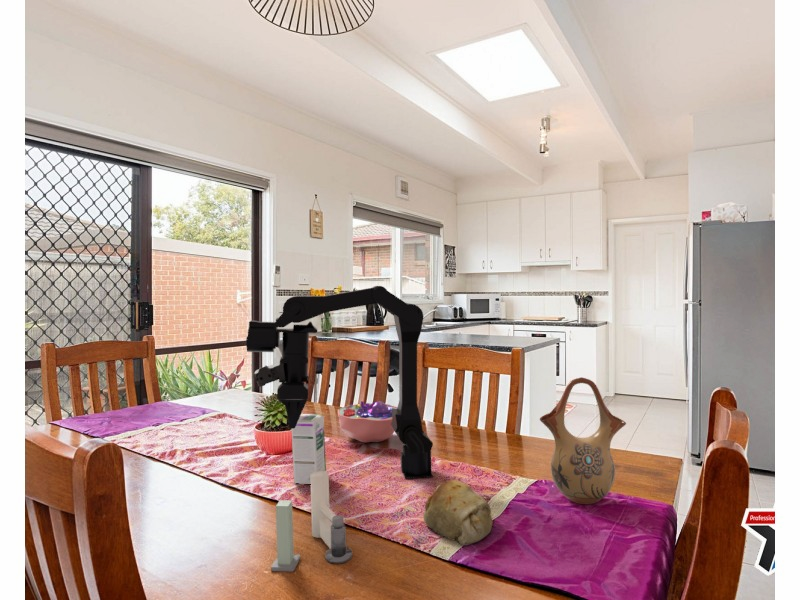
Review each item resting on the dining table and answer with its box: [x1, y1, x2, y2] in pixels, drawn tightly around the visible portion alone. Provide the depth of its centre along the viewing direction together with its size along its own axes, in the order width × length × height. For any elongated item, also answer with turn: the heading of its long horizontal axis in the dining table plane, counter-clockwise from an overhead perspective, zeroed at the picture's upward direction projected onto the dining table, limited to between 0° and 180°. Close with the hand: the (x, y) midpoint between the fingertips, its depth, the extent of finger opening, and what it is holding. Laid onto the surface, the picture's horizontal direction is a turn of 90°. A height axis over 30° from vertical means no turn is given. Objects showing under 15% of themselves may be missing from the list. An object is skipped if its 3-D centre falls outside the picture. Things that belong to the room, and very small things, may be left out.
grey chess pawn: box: [324, 523, 353, 565], centre depth 80 cm, size 4×4×5 cm
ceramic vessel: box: [539, 377, 627, 505], centre depth 97 cm, size 16×9×25 cm, turn 77°
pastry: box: [423, 478, 494, 546], centre depth 89 cm, size 14×12×8 cm
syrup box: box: [291, 413, 327, 485], centre depth 111 cm, size 6×6×14 cm
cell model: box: [337, 400, 398, 444], centre depth 138 cm, size 17×20×11 cm
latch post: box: [270, 499, 301, 573], centre depth 77 cm, size 4×4×10 cm
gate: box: [310, 470, 345, 549], centre depth 83 cm, size 10×3×11 cm, turn 30°
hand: (293, 422), depth 108 cm, fingers open, 9 cm apart
